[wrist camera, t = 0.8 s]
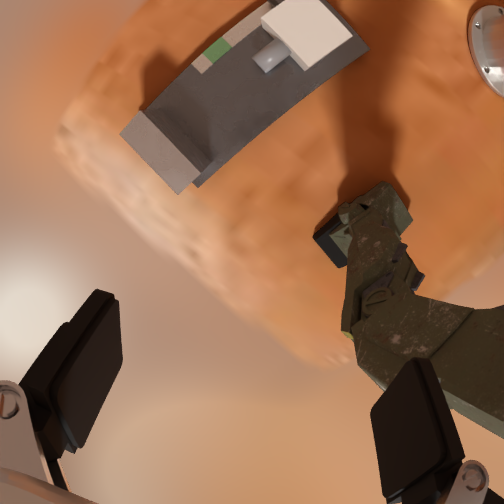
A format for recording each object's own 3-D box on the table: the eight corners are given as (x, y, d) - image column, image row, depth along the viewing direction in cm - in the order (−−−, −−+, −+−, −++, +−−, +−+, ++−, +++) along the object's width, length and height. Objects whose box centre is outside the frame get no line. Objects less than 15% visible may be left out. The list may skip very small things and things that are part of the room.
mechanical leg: (318, 292, 38) (459, 506, 10) (280, 251, 36) (429, 492, 8) (399, 217, 37) (612, 332, 8) (368, 172, 35) (623, 248, 6)
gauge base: (301, -18, 23) (306, -41, 17) (366, 51, 26) (386, 41, 20) (139, 120, 31) (112, 127, 25) (200, 184, 34) (185, 203, 28)
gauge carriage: (288, -12, 22) (290, -27, 19) (343, 43, 25) (352, 35, 21) (226, 34, 25) (219, 25, 22) (280, 89, 28) (281, 88, 24)
